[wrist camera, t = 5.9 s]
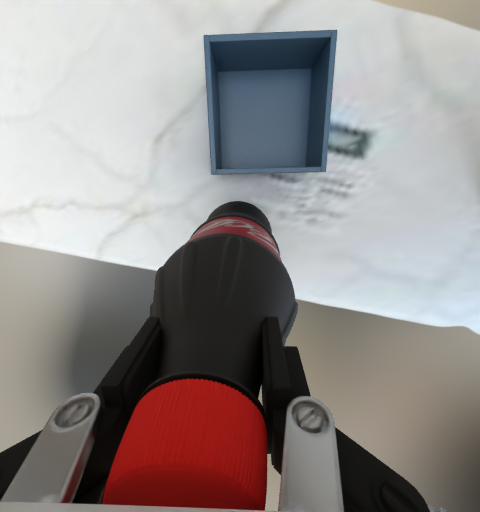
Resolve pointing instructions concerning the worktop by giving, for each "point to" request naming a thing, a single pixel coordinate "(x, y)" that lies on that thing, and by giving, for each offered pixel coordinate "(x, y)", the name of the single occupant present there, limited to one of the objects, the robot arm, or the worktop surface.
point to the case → (269, 101)
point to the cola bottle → (208, 371)
